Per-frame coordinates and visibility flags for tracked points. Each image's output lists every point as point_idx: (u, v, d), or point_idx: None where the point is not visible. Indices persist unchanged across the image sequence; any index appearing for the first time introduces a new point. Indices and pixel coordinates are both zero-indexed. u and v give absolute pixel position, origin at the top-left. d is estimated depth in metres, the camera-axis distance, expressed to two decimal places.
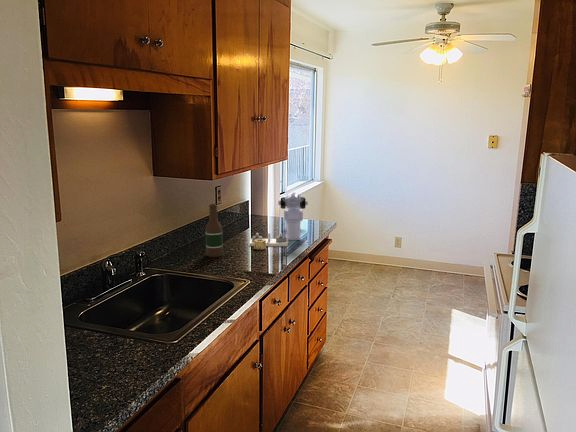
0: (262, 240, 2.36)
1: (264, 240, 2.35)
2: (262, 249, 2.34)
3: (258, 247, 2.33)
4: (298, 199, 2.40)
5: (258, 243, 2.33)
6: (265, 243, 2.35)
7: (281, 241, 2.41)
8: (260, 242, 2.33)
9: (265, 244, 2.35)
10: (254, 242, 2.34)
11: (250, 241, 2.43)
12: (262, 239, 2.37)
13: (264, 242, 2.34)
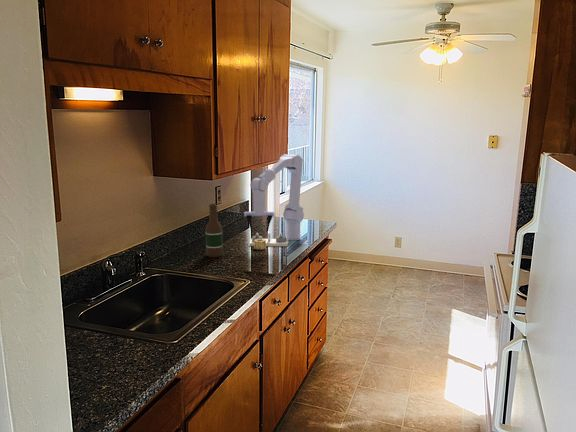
0: (262, 240, 2.36)
1: (264, 240, 2.35)
2: (262, 249, 2.34)
3: (258, 247, 2.33)
4: (264, 214, 2.31)
5: (258, 243, 2.33)
6: (265, 243, 2.35)
7: (281, 241, 2.41)
8: (260, 242, 2.33)
9: (265, 244, 2.35)
10: (254, 242, 2.34)
11: (250, 241, 2.43)
12: (262, 239, 2.37)
13: (264, 242, 2.34)
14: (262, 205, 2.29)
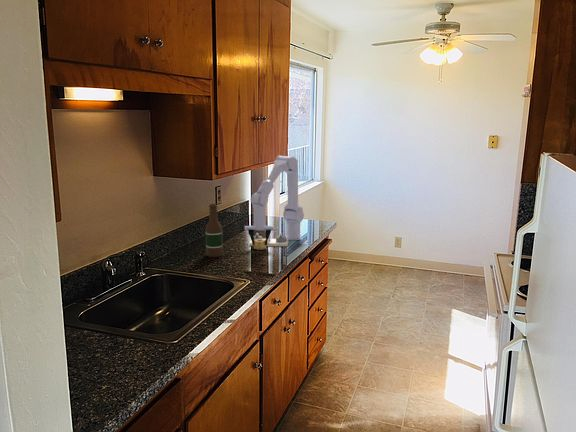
0: (262, 240, 2.36)
1: (264, 240, 2.35)
2: (262, 249, 2.34)
3: (258, 247, 2.33)
4: (264, 228, 2.32)
5: (258, 243, 2.33)
6: None
7: (281, 241, 2.41)
8: (260, 242, 2.33)
9: None
10: (254, 242, 2.34)
11: (250, 241, 2.43)
12: (262, 239, 2.37)
13: (264, 242, 2.34)
14: (262, 219, 2.31)
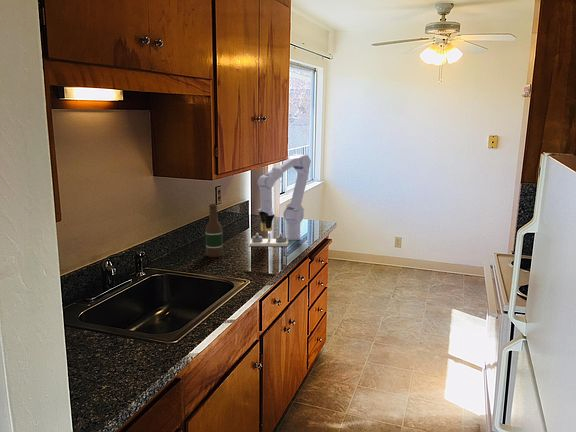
0: None
1: None
2: None
3: (261, 228, 2.39)
4: (264, 211, 2.35)
5: (261, 224, 2.39)
6: None
7: (281, 241, 2.41)
8: None
9: None
10: None
11: (250, 241, 2.43)
12: None
13: (265, 225, 2.37)
14: (262, 202, 2.35)
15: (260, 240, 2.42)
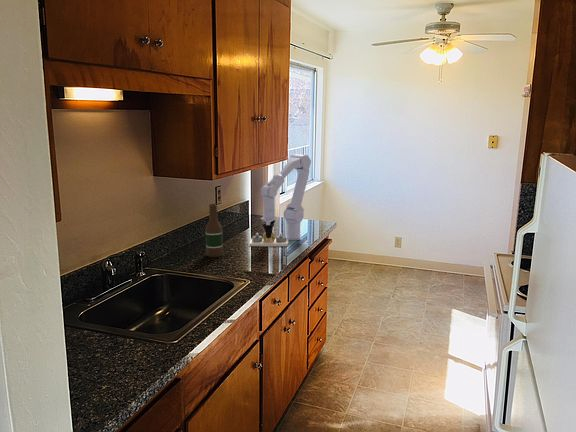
0: None
1: None
2: None
3: None
4: (265, 220, 2.39)
5: None
6: None
7: (281, 241, 2.41)
8: None
9: (267, 238, 2.40)
10: None
11: (250, 241, 2.43)
12: None
13: (265, 235, 2.41)
14: (264, 211, 2.39)
15: (260, 240, 2.42)
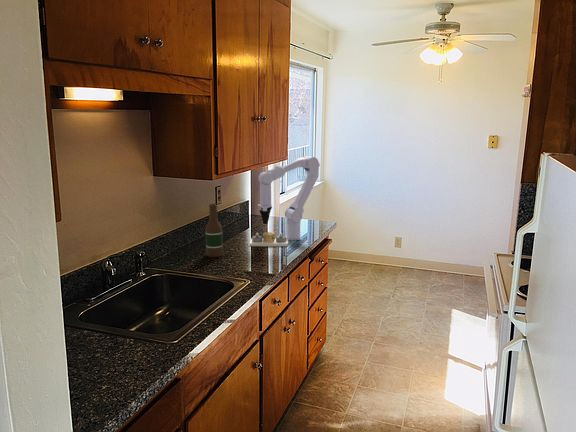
0: None
1: (267, 234, 2.41)
2: None
3: None
4: (262, 207, 2.43)
5: None
6: (267, 237, 2.40)
7: (281, 241, 2.41)
8: None
9: (267, 238, 2.40)
10: (266, 233, 2.45)
11: (250, 241, 2.43)
12: (271, 233, 2.42)
13: (265, 235, 2.41)
14: (260, 197, 2.43)
15: (260, 240, 2.42)
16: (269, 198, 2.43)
